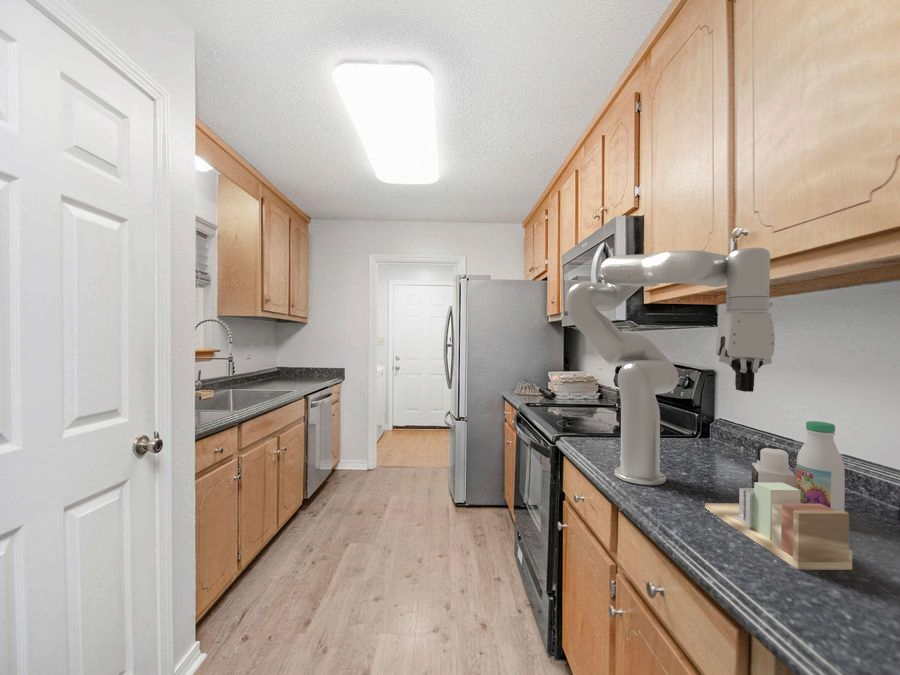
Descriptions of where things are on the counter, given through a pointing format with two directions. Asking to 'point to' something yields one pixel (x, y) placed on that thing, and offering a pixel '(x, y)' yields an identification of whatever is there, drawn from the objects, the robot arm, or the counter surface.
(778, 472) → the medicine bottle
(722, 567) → the counter surface
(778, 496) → the pale green block
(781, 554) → the panel
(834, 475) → the milk bottle
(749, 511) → the bookend
